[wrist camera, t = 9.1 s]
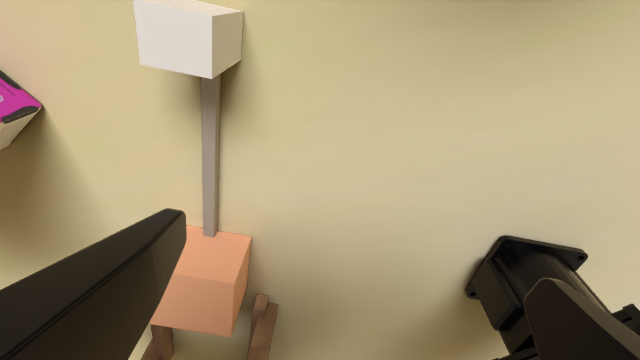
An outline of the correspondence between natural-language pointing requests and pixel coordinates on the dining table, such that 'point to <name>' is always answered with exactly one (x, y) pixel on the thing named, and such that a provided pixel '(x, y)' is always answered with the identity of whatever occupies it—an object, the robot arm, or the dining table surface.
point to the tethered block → (202, 243)
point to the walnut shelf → (259, 343)
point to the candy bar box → (14, 110)
